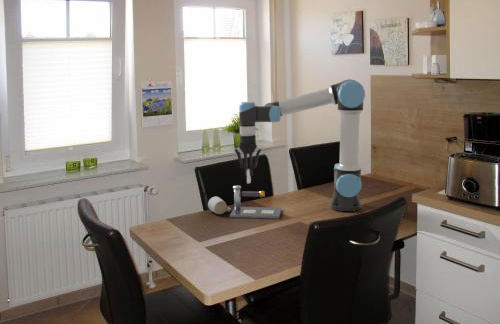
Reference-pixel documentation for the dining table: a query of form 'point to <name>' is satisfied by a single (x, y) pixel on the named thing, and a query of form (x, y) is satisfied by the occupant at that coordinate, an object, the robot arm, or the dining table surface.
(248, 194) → the swing arm
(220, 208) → the ceramic mug
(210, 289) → the dining table surface
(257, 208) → the grey base with post
